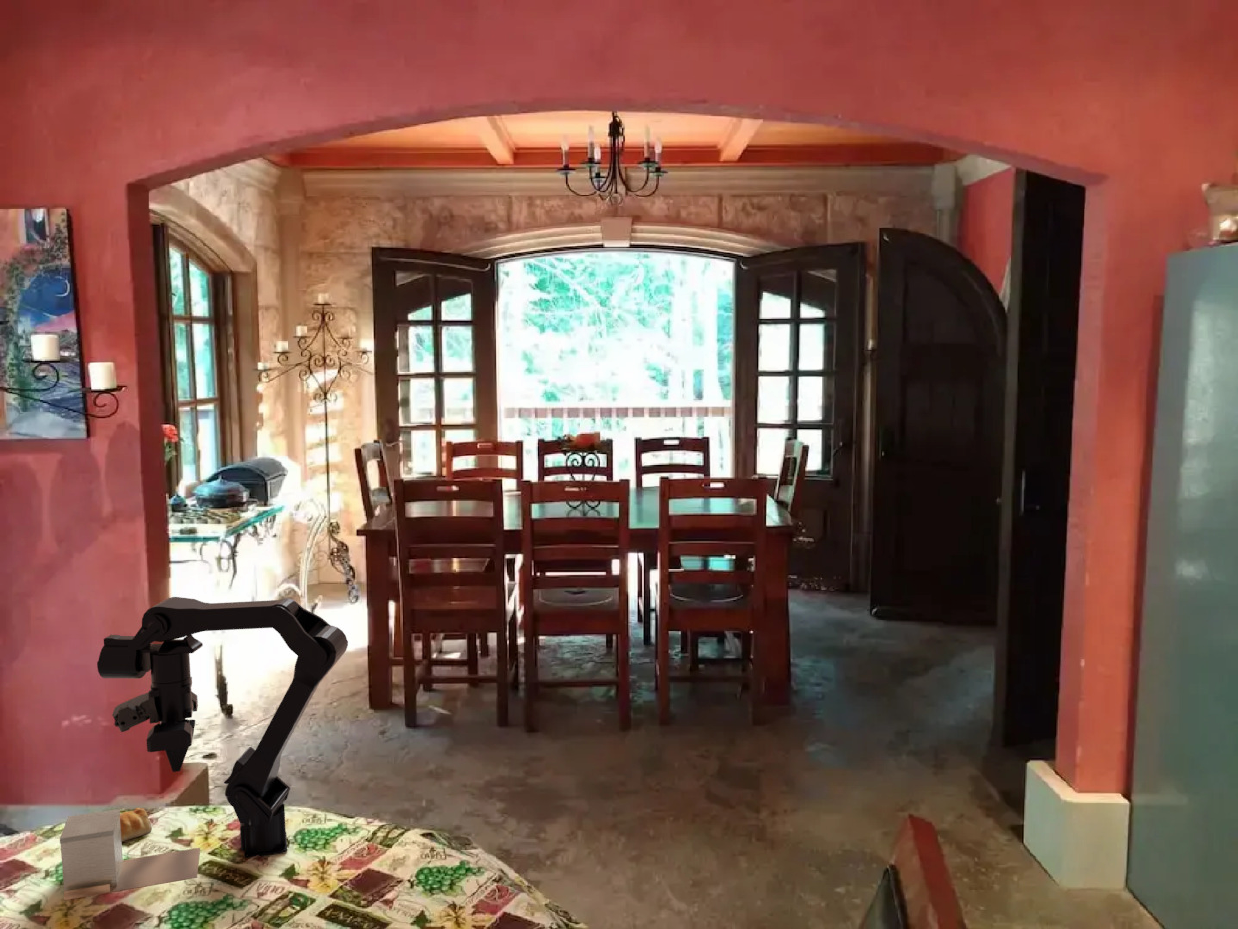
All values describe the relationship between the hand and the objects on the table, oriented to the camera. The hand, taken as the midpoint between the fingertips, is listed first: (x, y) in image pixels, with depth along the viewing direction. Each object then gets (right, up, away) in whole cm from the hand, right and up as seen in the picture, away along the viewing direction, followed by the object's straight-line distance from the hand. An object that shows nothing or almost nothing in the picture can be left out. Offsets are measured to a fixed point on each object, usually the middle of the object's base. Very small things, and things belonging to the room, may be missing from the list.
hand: (176, 770), depth 159 cm
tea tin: (-9, -14, -9) cm, 18 cm away
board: (-3, -14, -7) cm, 16 cm away
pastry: (-11, -13, +5) cm, 18 cm away
